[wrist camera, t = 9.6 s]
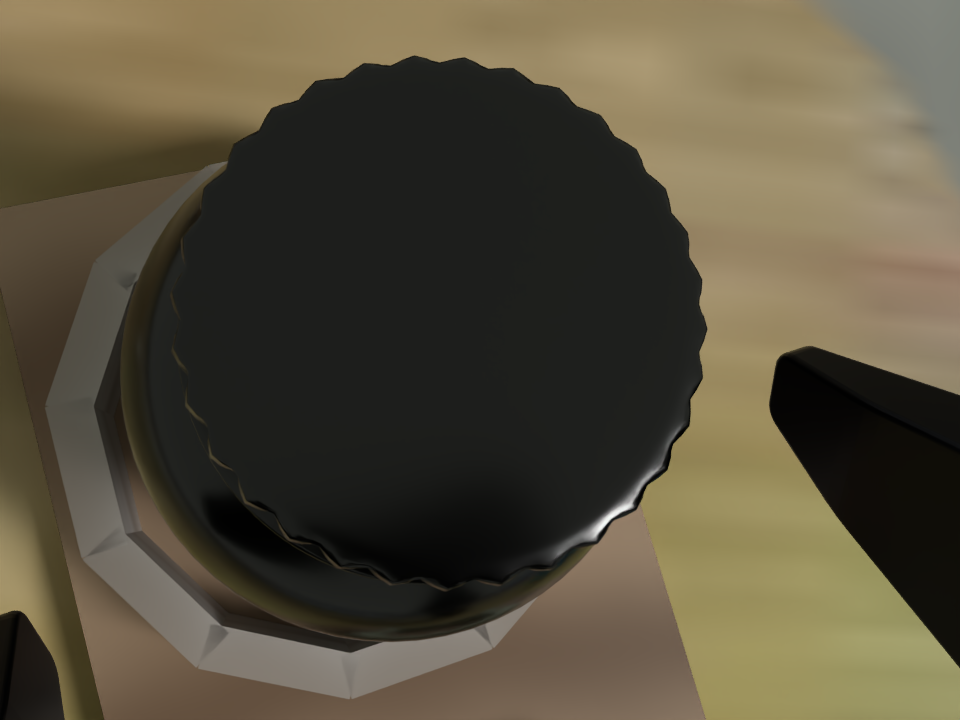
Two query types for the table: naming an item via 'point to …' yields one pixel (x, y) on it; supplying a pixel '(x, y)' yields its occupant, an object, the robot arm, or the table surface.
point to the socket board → (231, 619)
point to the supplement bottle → (411, 350)
